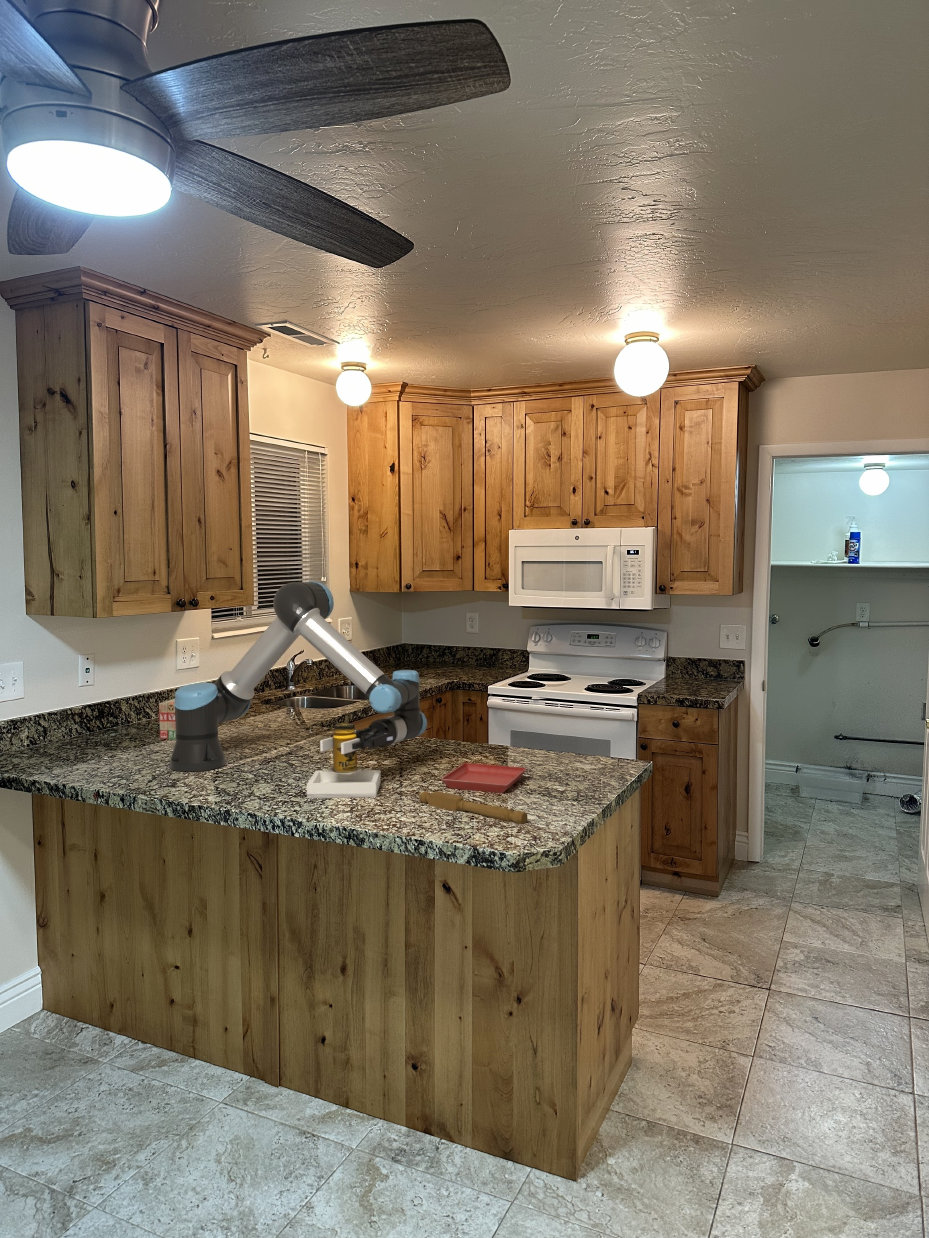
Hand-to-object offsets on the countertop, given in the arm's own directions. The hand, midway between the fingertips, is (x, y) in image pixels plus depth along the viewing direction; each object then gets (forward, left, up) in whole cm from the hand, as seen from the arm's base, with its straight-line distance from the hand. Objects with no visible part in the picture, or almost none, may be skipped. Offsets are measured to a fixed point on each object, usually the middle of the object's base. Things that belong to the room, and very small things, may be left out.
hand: (331, 747), depth 208 cm
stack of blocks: (-63, +85, -12) cm, 107 cm away
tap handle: (+34, -16, -13) cm, 40 cm away
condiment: (+2, +5, -7) cm, 9 cm away
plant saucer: (+39, +9, -13) cm, 42 cm away
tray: (+3, +4, -12) cm, 13 cm away
